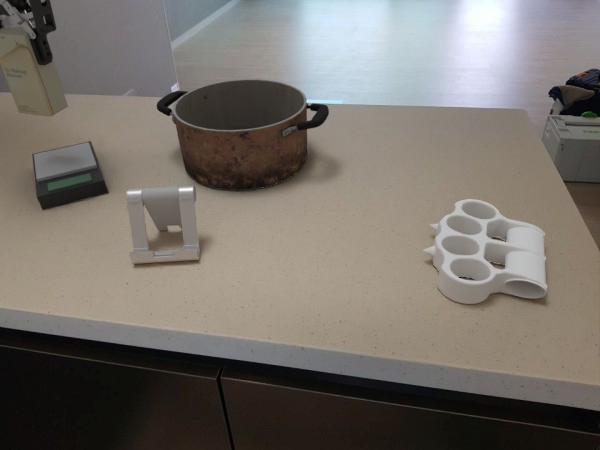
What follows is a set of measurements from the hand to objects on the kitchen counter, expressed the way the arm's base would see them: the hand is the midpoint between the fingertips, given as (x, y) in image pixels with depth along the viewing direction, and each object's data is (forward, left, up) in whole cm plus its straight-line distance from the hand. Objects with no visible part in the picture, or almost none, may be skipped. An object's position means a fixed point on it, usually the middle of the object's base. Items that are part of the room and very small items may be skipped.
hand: (27, 61), depth 68 cm
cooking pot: (+28, +13, -20) cm, 37 cm away
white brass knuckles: (+68, -5, -20) cm, 71 cm away
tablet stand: (+27, -13, -20) cm, 36 cm away
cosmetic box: (0, 0, -8) cm, 8 cm away
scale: (+1, -1, -20) cm, 20 cm away
